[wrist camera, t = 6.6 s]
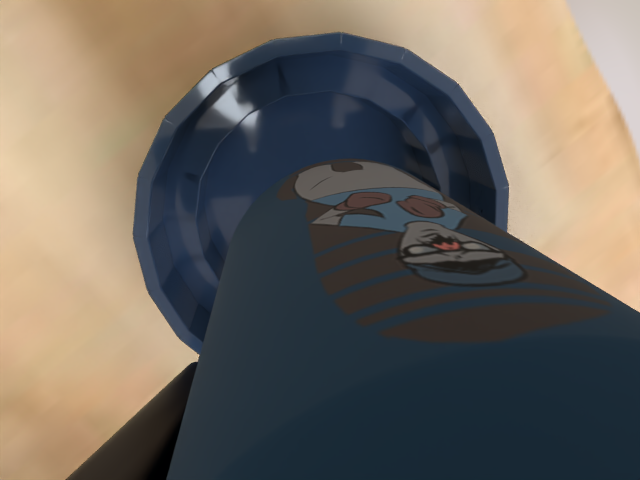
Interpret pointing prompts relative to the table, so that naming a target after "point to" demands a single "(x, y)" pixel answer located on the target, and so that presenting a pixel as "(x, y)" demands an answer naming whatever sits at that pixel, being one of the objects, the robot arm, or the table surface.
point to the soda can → (404, 346)
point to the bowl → (296, 151)
